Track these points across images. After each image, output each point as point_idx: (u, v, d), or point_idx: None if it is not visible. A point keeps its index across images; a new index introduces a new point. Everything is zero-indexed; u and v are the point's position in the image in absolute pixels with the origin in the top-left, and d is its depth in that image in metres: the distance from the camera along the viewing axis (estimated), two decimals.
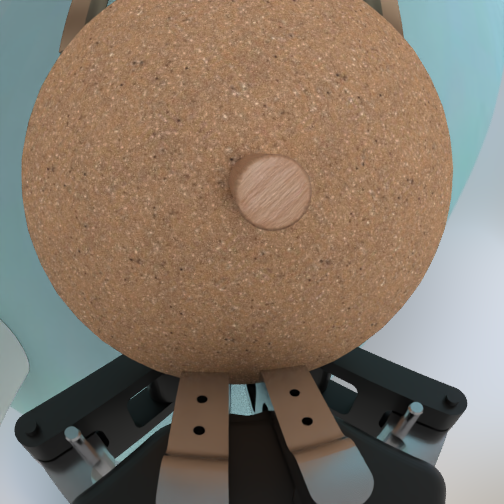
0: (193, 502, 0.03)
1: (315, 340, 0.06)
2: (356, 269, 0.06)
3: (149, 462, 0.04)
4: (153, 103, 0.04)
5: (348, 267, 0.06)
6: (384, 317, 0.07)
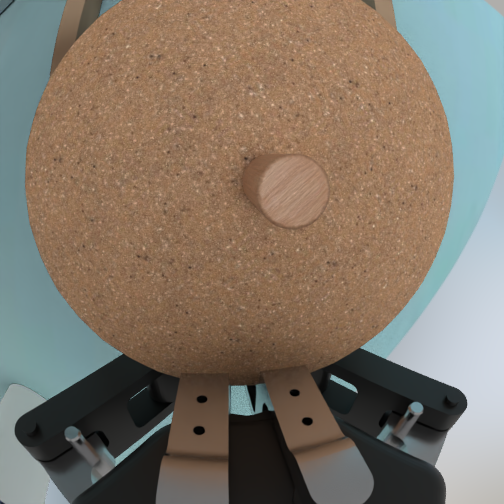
0: (193, 502, 0.03)
1: (319, 341, 0.06)
2: (361, 271, 0.06)
3: (149, 462, 0.04)
4: (169, 98, 0.04)
5: (353, 269, 0.06)
6: (385, 319, 0.07)
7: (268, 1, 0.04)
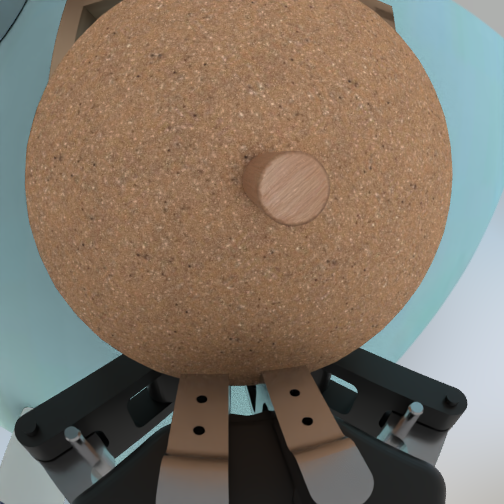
0: (193, 502, 0.03)
1: (318, 340, 0.06)
2: (360, 270, 0.06)
3: (149, 462, 0.04)
4: (170, 97, 0.04)
5: (353, 268, 0.06)
6: (384, 319, 0.07)
7: (268, 1, 0.04)
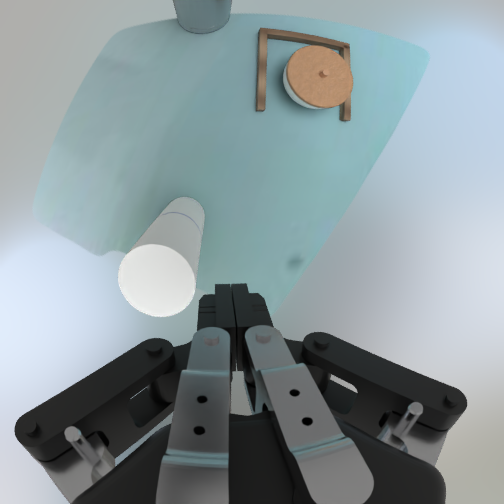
0: (193, 502, 0.03)
1: (331, 98, 0.35)
2: (336, 88, 0.34)
3: (149, 462, 0.04)
4: (310, 63, 0.32)
5: (334, 87, 0.34)
6: (343, 99, 0.35)
7: (321, 53, 0.32)
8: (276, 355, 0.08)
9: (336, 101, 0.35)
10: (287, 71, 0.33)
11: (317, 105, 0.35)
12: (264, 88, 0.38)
